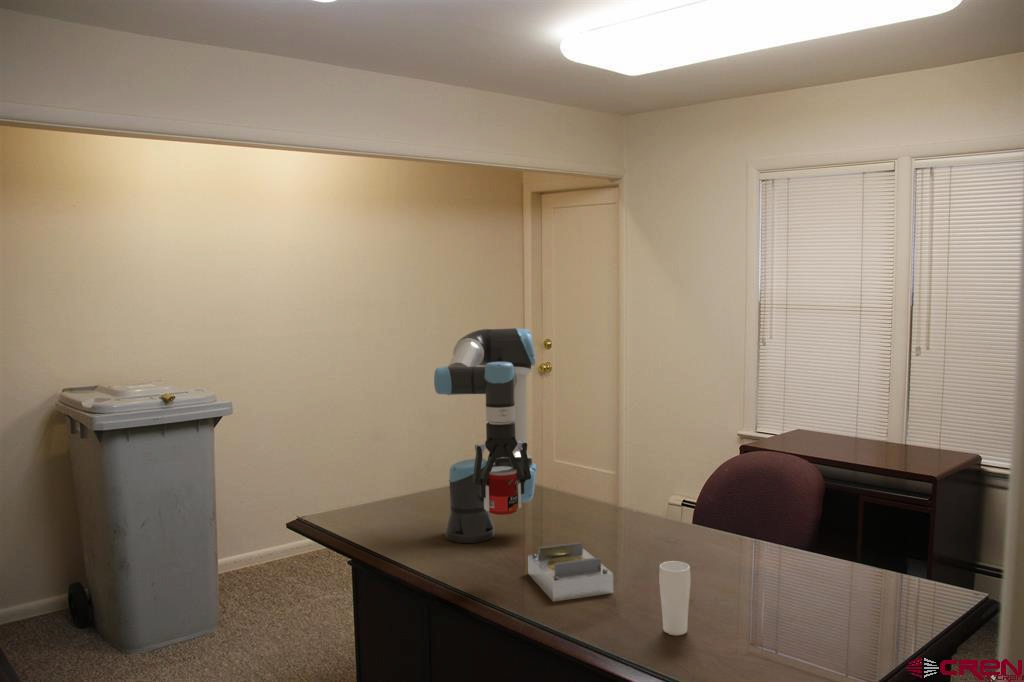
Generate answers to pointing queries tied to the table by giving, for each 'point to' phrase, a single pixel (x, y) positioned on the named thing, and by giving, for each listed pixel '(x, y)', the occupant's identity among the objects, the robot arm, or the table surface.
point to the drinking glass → (674, 596)
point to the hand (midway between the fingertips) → (502, 508)
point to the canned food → (502, 490)
